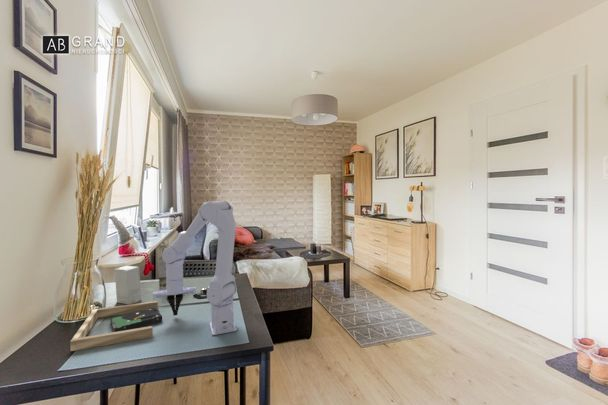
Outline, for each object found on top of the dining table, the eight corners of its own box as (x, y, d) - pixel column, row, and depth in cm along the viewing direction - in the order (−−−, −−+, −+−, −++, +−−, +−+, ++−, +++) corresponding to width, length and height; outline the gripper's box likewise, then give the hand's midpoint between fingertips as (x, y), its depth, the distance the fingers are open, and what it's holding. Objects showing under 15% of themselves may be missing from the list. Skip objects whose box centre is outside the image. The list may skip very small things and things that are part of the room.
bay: (152, 336, 94) (152, 327, 94) (70, 351, 86) (70, 341, 85) (157, 308, 117) (157, 300, 117) (93, 317, 108) (93, 309, 108)
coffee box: (174, 292, 135) (173, 258, 135) (158, 293, 133) (158, 259, 133) (176, 285, 144) (175, 254, 143) (162, 287, 142) (161, 254, 142)
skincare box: (141, 300, 125) (140, 266, 124) (128, 305, 119) (127, 270, 119) (128, 297, 128) (127, 264, 127) (114, 302, 123) (114, 267, 122)
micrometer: (203, 300, 126) (203, 295, 126) (191, 298, 129) (191, 292, 129) (226, 290, 139) (226, 284, 139) (215, 288, 142) (215, 282, 142)
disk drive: (155, 314, 113) (109, 325, 103) (154, 307, 113) (109, 317, 103) (162, 323, 105) (114, 336, 95) (162, 315, 105) (114, 328, 95)
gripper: (194, 273, 114) (195, 307, 115) (153, 277, 108) (154, 313, 109) (196, 278, 108) (196, 314, 108) (152, 283, 102) (152, 321, 102)
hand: (175, 314), depth 108 cm, fingers closed
